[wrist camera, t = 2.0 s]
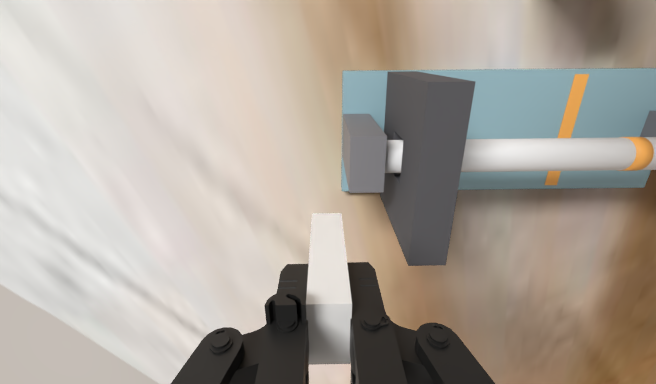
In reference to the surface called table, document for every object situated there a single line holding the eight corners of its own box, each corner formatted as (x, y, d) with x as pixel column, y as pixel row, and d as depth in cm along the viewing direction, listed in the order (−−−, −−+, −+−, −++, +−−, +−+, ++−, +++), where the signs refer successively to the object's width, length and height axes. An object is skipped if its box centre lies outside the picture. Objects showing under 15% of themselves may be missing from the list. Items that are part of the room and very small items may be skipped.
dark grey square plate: (380, 195, 39) (408, 265, 26) (387, 71, 33) (428, 82, 20) (404, 195, 39) (445, 265, 26) (416, 71, 33) (475, 81, 20)
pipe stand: (341, 186, 41) (348, 237, 30) (342, 70, 36) (351, 77, 24) (633, 183, 42) (751, 231, 30) (678, 67, 36) (843, 73, 25)
